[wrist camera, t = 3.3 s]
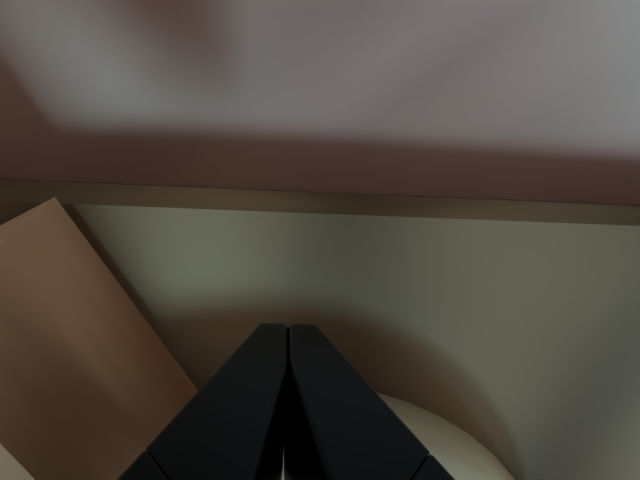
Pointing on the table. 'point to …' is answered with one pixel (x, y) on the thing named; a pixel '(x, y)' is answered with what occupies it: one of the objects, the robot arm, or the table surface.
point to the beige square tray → (399, 301)
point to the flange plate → (112, 367)
